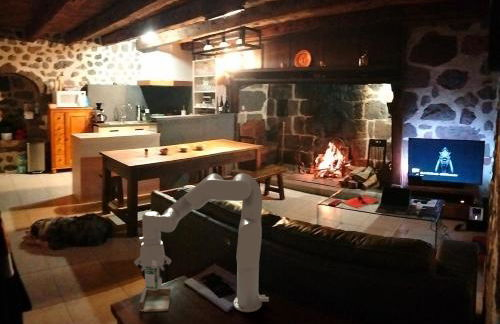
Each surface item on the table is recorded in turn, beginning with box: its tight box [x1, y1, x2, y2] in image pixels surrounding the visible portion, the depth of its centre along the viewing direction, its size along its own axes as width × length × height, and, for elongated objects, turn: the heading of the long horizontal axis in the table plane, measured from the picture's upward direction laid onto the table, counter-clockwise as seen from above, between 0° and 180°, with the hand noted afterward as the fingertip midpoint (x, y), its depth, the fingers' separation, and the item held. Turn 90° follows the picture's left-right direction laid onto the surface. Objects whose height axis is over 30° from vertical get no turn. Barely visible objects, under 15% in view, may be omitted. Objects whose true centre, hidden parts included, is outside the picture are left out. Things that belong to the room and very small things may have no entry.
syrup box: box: [144, 260, 163, 291], centre depth 178 cm, size 6×6×14 cm
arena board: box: [139, 286, 171, 313], centre depth 181 cm, size 12×12×4 cm
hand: (153, 277), depth 179 cm, fingers closed on syrup box, 6 cm apart
